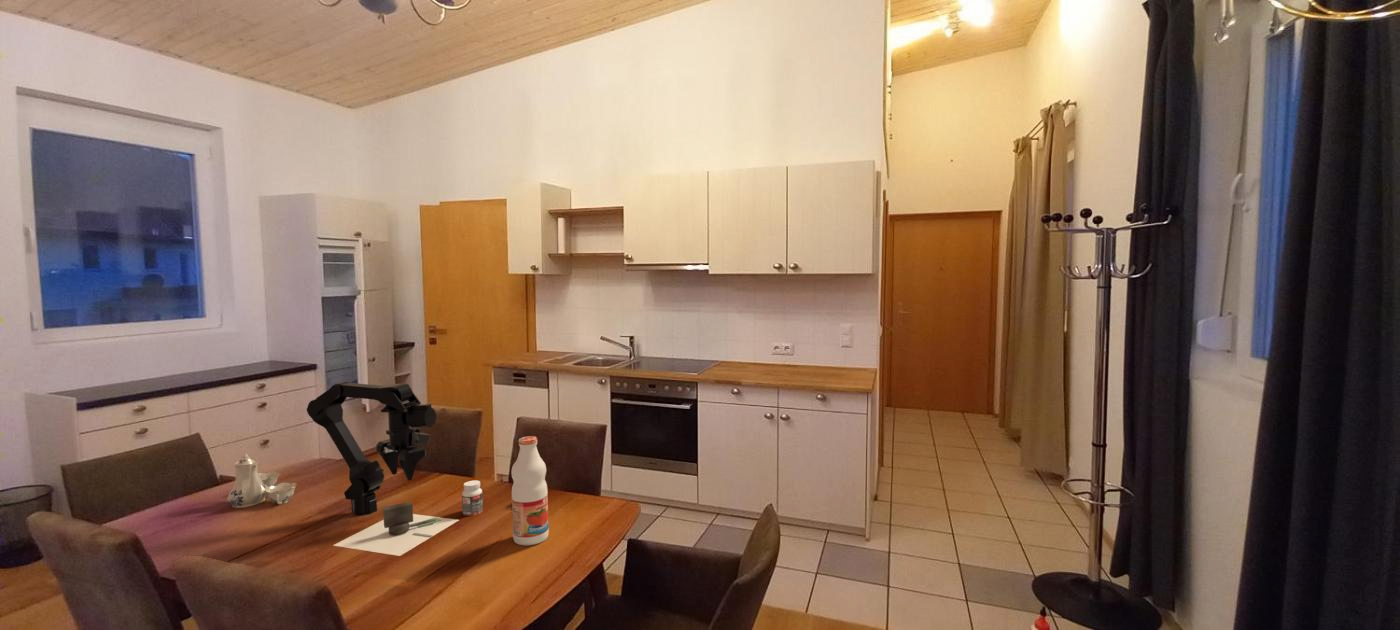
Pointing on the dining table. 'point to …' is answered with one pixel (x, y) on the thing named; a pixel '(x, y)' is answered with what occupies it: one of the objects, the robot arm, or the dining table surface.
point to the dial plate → (395, 536)
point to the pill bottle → (472, 498)
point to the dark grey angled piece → (400, 518)
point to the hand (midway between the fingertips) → (402, 477)
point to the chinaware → (257, 485)
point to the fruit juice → (529, 495)
